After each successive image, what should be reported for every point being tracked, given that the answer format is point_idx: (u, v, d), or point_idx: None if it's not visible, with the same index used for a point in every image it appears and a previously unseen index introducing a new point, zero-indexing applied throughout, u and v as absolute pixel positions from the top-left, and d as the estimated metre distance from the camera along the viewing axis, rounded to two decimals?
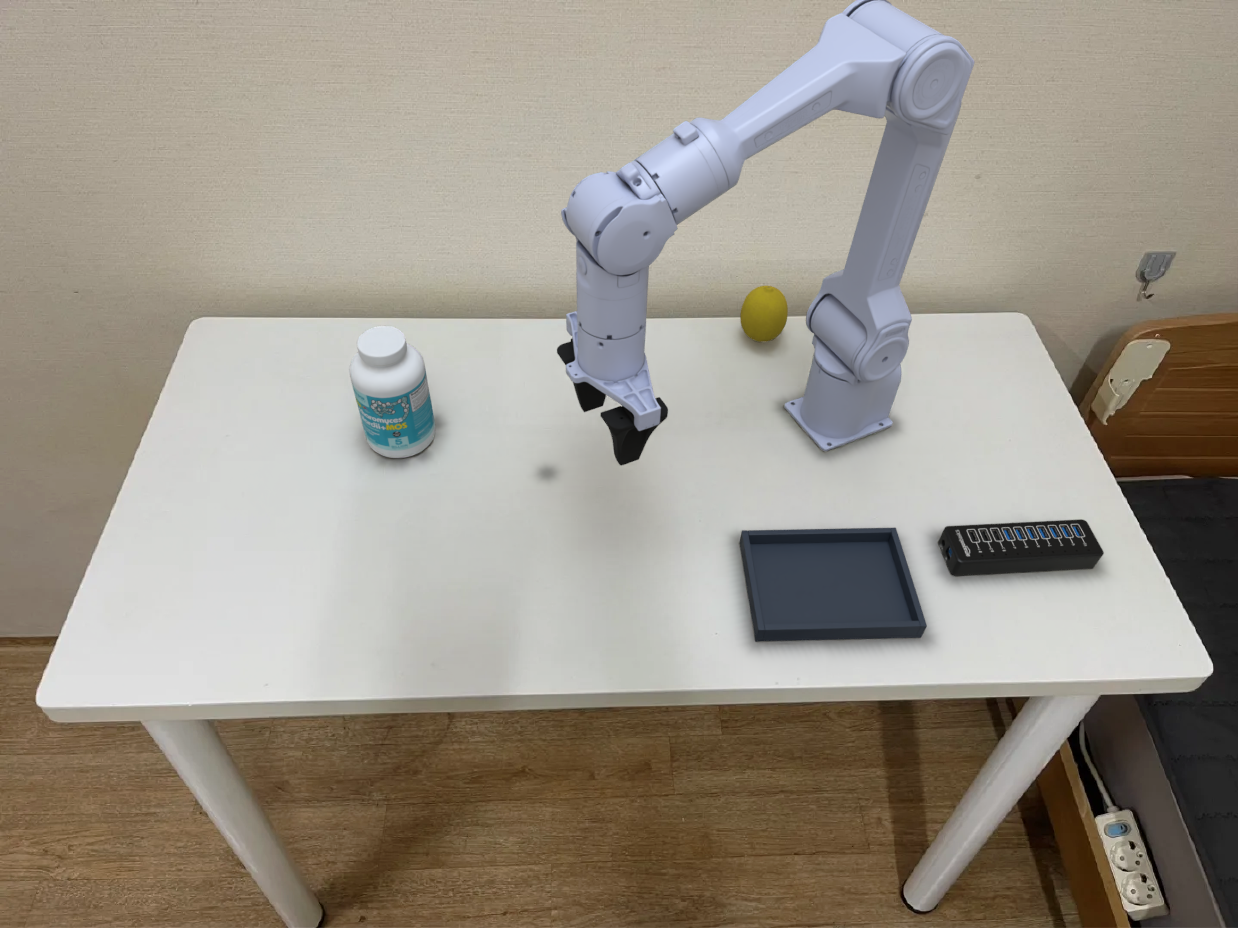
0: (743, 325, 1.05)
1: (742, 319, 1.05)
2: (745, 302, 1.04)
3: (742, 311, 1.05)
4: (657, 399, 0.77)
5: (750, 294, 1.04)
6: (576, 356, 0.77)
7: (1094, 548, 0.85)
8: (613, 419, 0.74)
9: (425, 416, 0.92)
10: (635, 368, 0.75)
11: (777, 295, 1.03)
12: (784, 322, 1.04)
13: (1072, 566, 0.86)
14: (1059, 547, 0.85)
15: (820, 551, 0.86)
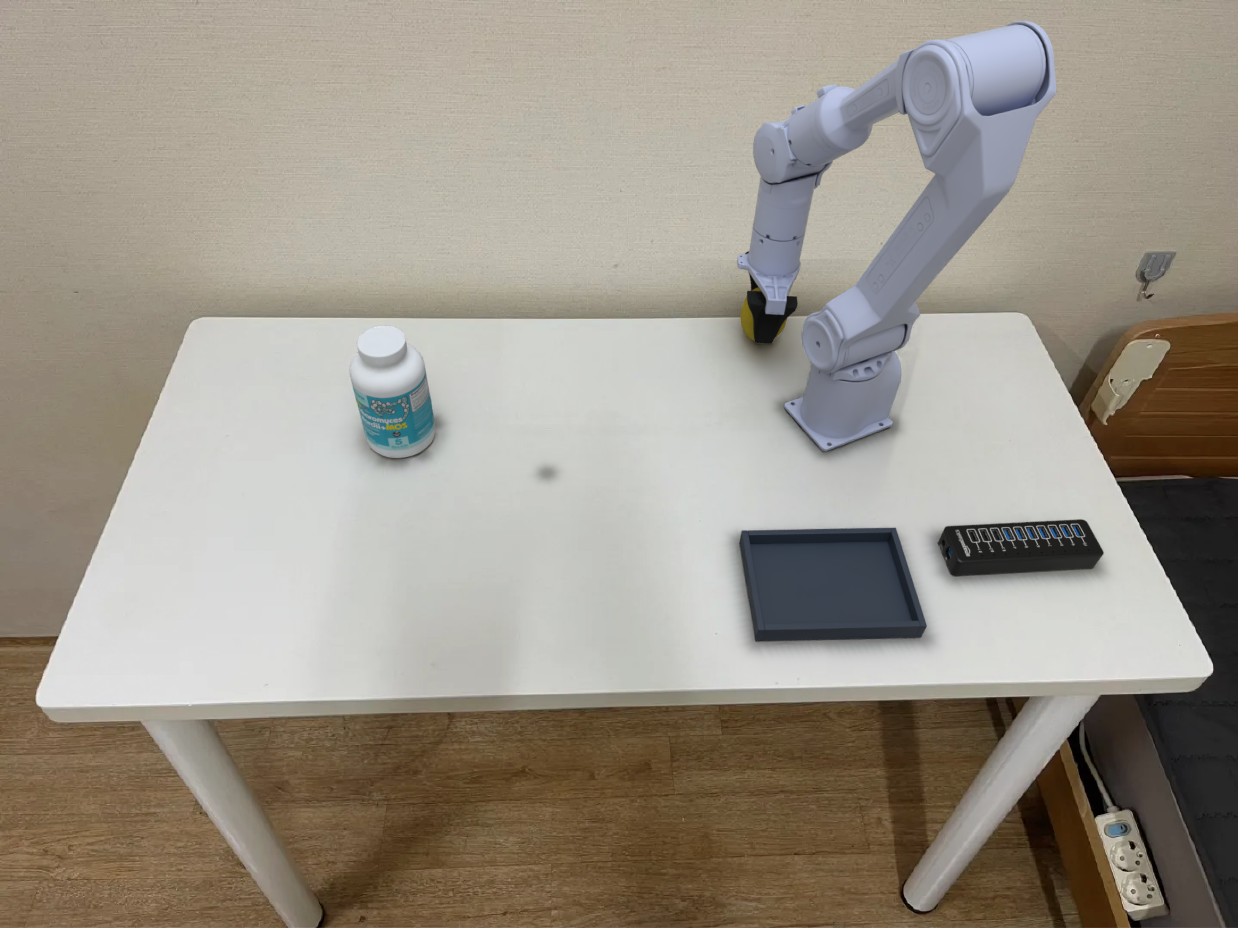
0: (743, 325, 1.05)
1: (742, 319, 1.05)
2: (745, 302, 1.04)
3: (742, 311, 1.05)
4: (794, 297, 0.99)
5: None
6: None
7: (1094, 548, 0.85)
8: (753, 297, 0.99)
9: (425, 416, 0.92)
10: (784, 270, 0.98)
11: None
12: (784, 322, 1.04)
13: (1072, 566, 0.86)
14: (1059, 547, 0.85)
15: (820, 551, 0.86)
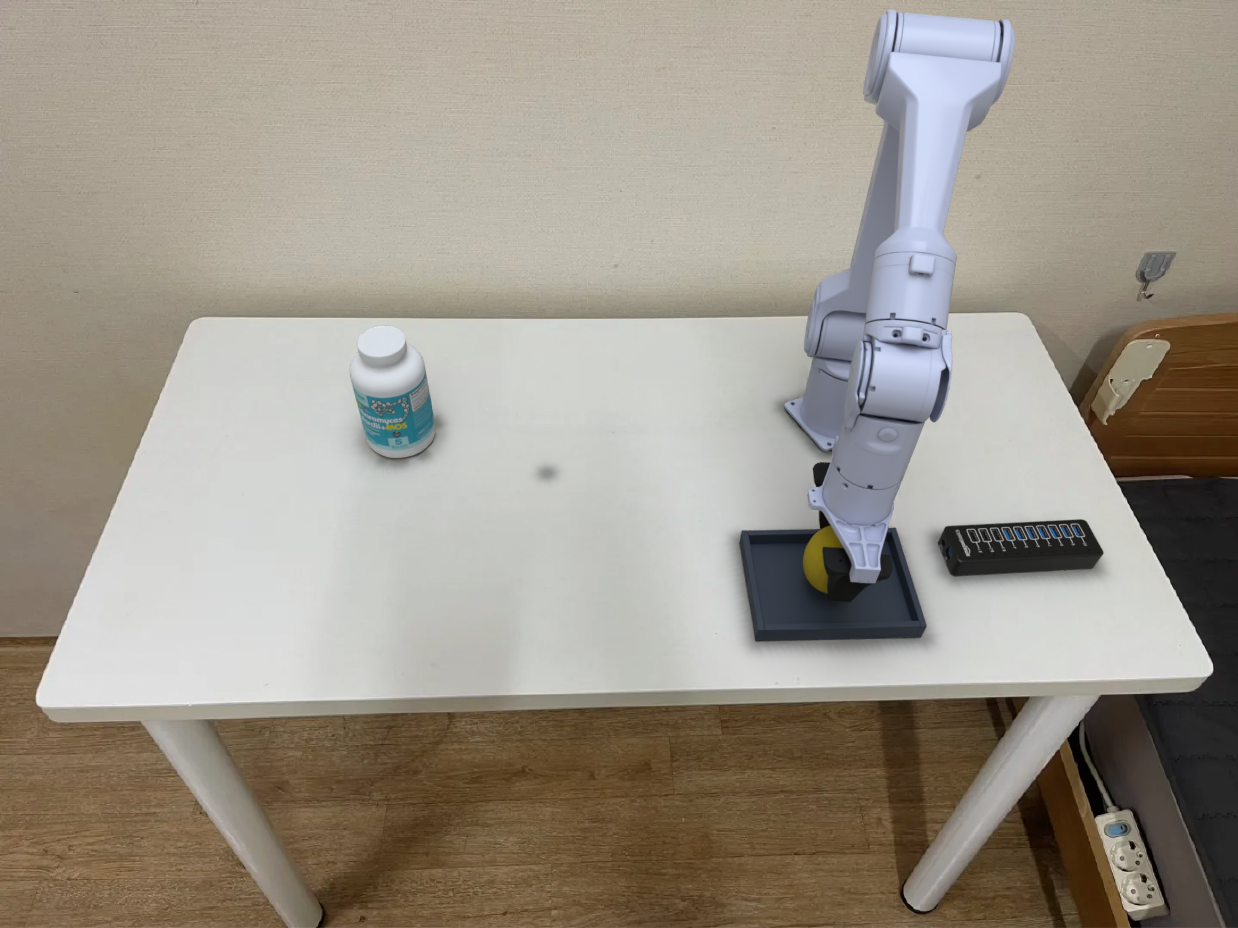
0: (807, 575, 0.81)
1: (806, 568, 0.80)
2: (811, 548, 0.79)
3: (806, 558, 0.80)
4: (886, 556, 0.73)
5: (818, 539, 0.79)
6: (824, 483, 0.75)
7: (1094, 548, 0.85)
8: (832, 559, 0.73)
9: (425, 416, 0.92)
10: (874, 519, 0.72)
11: None
12: None
13: (1072, 566, 0.86)
14: (1059, 547, 0.85)
15: None
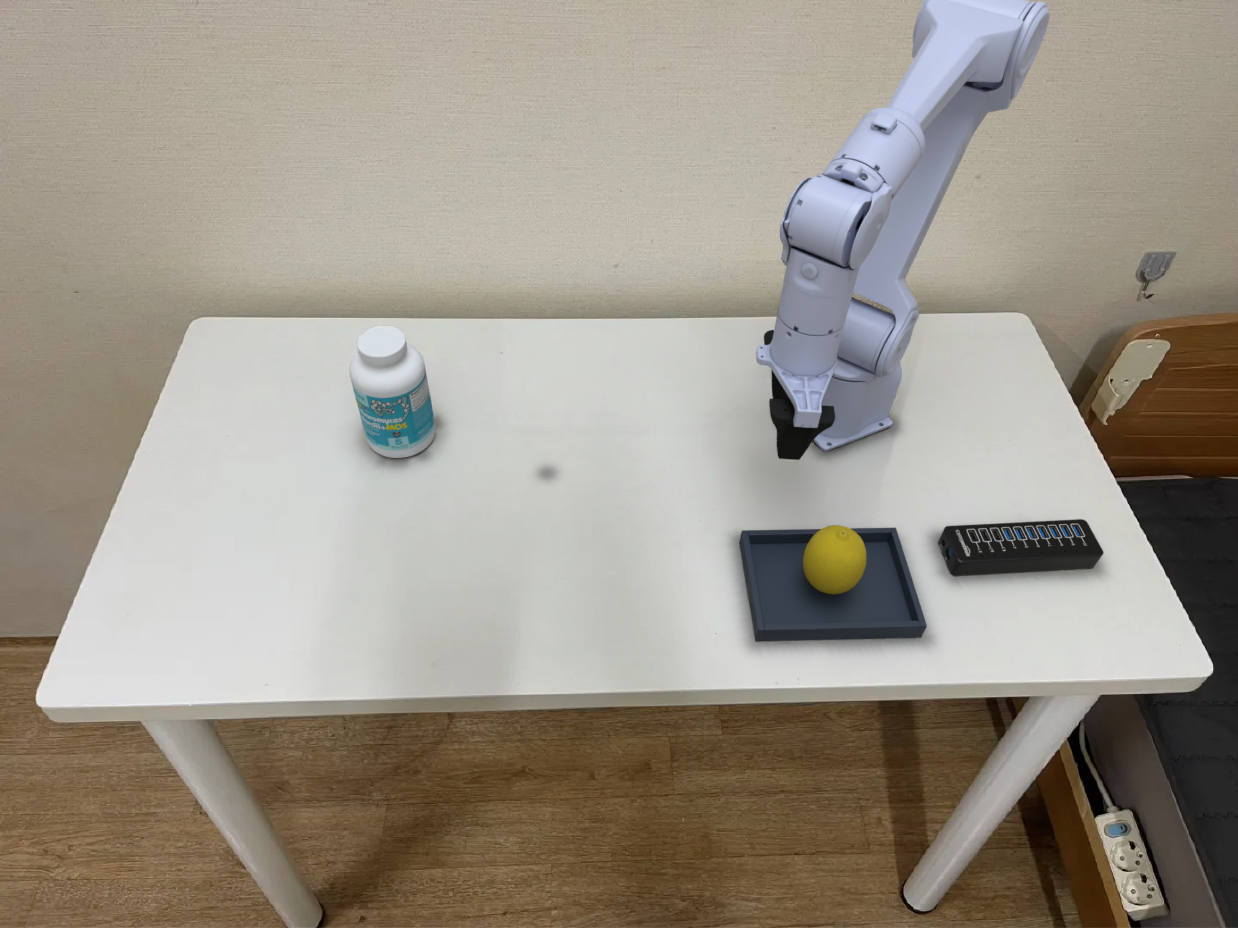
0: (807, 575, 0.81)
1: (806, 568, 0.80)
2: (811, 548, 0.79)
3: (806, 558, 0.80)
4: (830, 407, 0.77)
5: (818, 539, 0.79)
6: (772, 341, 0.80)
7: (1094, 548, 0.85)
8: (777, 408, 0.77)
9: (425, 416, 0.92)
10: (817, 369, 0.76)
11: (854, 544, 0.78)
12: (862, 574, 0.80)
13: (1072, 566, 0.86)
14: (1059, 547, 0.85)
15: None
